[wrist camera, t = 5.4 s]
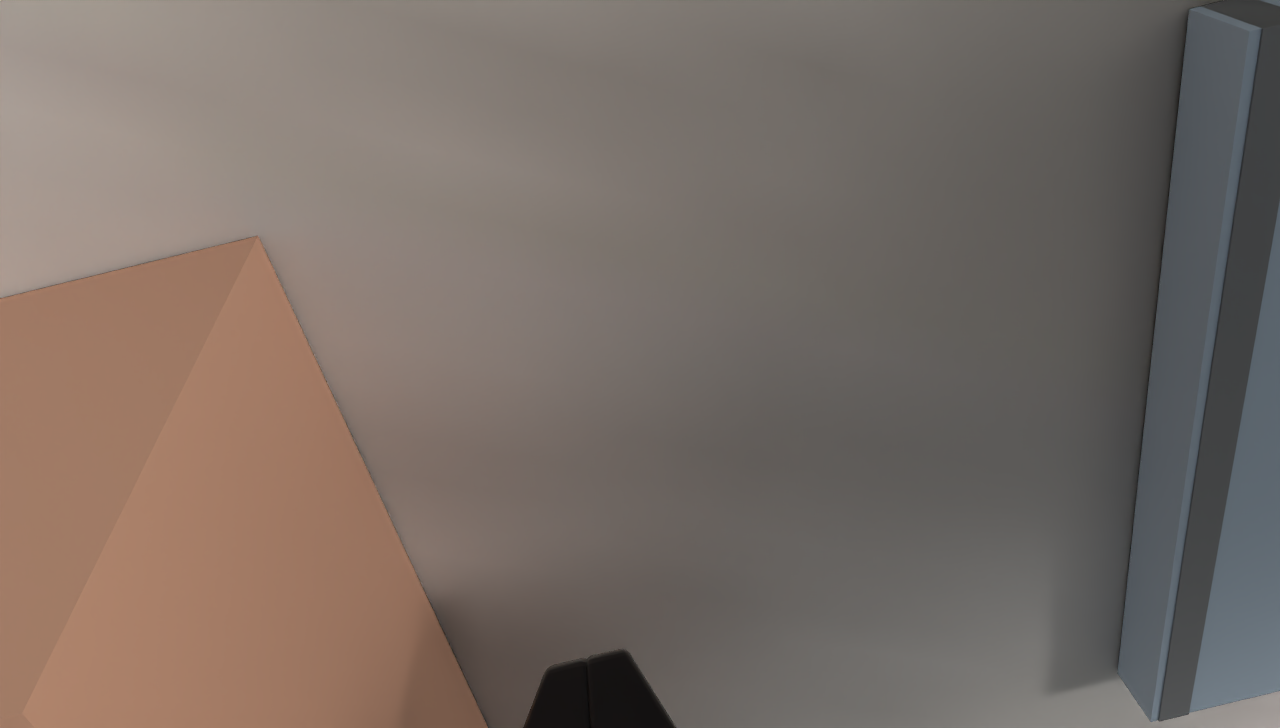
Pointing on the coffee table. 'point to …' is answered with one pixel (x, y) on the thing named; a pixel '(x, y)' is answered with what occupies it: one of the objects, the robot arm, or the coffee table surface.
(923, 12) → the coffee table surface
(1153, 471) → the blue book
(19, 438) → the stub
